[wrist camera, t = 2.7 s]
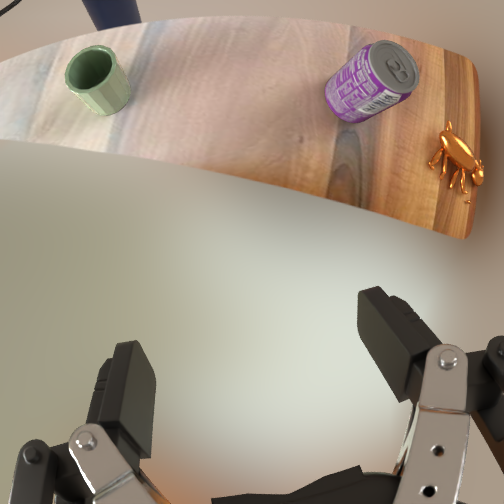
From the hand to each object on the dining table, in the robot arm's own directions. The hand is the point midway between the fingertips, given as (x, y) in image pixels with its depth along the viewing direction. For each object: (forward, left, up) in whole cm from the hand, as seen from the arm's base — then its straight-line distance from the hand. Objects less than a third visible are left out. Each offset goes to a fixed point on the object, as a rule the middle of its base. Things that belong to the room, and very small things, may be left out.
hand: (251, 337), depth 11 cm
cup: (-16, +18, -27) cm, 36 cm away
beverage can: (+14, +22, -27) cm, 37 cm away
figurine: (+34, +12, -26) cm, 44 cm away
